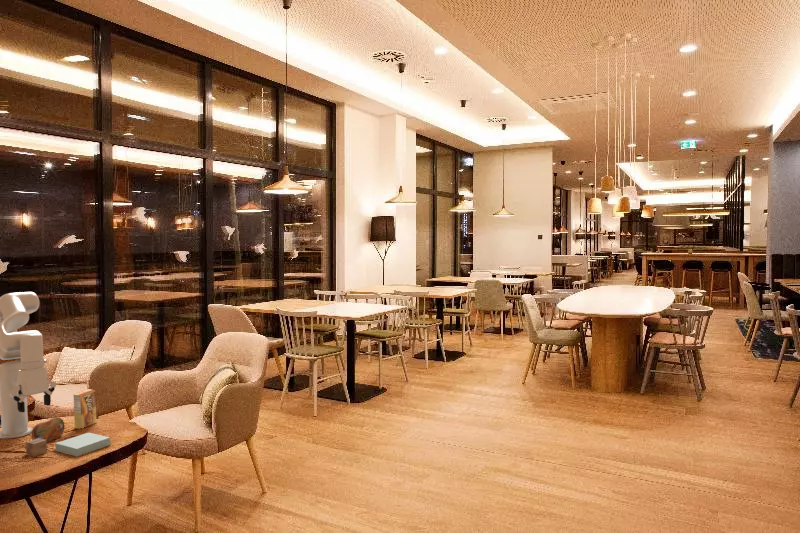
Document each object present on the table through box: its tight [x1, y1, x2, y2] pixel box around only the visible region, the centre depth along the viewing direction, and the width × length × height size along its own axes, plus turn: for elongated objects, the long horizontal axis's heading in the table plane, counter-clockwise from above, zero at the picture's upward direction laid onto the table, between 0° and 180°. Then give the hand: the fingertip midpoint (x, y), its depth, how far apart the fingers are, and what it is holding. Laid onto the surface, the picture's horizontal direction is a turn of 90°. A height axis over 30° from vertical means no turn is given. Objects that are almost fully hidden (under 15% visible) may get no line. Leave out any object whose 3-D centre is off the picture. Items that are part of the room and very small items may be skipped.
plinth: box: [54, 432, 111, 457], centre depth 233 cm, size 14×14×3 cm
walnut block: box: [25, 438, 48, 457], centre depth 227 cm, size 5×5×5 cm
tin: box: [31, 417, 65, 444], centre depth 242 cm, size 15×3×8 cm, turn 168°
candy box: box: [73, 388, 97, 429], centre depth 261 cm, size 9×4×15 cm, turn 167°
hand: (34, 408), depth 227 cm, fingers open, 9 cm apart
